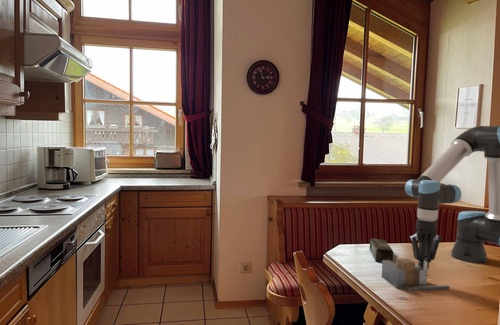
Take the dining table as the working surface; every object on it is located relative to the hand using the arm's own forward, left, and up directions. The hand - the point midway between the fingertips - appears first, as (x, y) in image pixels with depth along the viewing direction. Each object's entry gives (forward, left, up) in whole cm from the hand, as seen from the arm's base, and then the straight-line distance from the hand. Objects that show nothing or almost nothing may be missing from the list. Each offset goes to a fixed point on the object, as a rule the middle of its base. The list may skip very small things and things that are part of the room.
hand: (422, 276), depth 151 cm
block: (+8, 0, -2) cm, 8 cm away
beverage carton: (+2, -32, -3) cm, 32 cm away
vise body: (+4, 0, -2) cm, 5 cm away
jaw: (+4, 0, -2) cm, 4 cm away
